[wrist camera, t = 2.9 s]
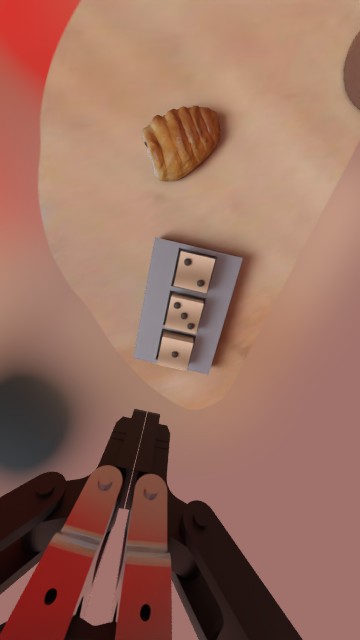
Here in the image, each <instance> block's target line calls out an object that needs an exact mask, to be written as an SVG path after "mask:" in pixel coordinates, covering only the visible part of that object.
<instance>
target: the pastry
mask: <svg viewBox="0 0 360 640" xmlns="http://www.w3.org/2000/svg"><path fill="white" fill-rule="evenodd" d="M219 137H220V126H219V122H218V115H217V113H216V112H215V111H212V110H210V109H209V108H201V107H198V106H193V107H191V108H187V107H181V108H180V109H178V110H176V109H172V110H170V111H169V112H167V114H166V115H164V116H163V117H162V116H160V115H157V116H155V117H154V118H153V120H152V122H151V123H150V124H149V126H148V127H146V128H144V129H143V130H142V138H143V141H144V143H145V145H146V146H147V147H146V148H147V152H148V154H149V156H150V158H151V160H152V162H153V169H154V173H155V175H156V177H157V178H158V179H159V180H160V181H176V180H179V179H181V178H182V177H184V176H185V175H187V174H188V173H189V172H191V171H192V170H194V169H195V168H196V167H197V166H198V165H199V164H200V163H201V162H202V161H203V160H205V158H207V157H208V156H209V155H210V154H211V153H212V152H213V150H214V148H215V147H216V145H217V142H218V140H219Z"/></svg>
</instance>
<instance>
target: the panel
mask: <svg viewBox="0 0 360 640" xmlns="http://www.w3.org/2000/svg"><path fill="white" fill-rule="evenodd" d="M181 251H183V252H187V253H191V254H195V255H200V256H204V257H208V258H213V259H215V263H214V267H213V271H212V274H211V278H210V282H209V286H208V290H207V293H202V292H198V291H194V290H189V289H185V288H180V287H176V286H174V281H175V277H176V272H177V267H178V263H179V258H180V253H181ZM242 260H243V258H241V257H237V256H233V255H229V254H224V253H220V252H216V251H212V250H207V249H203V248H199V247H194V246H190V245H186V244H182V243H177V242H173V241H169V240H165V239H160V238H156V237H155V240H154V246H153V251H152V257H151V262H150V268H149V274H148V279H147V285H146V290H145V296H144V302H143V307H142V313H141V318H140V324H139V330H138V335H137V341H136V347H135V352H134V358H135V359H139V360H144V361H149V362H153V363H157V361H158V356H159V351H160V347H161V342H162V337H163V334H164V331H168V332H172V333H177V334H181V335H186V336H190V337H193V343H194V344H193V347H192V351H191V355H190V359H189V363H188V367H187V370H190V371H195V372H199V373H204V374H209V371H210V368H211V365H212V361H213V358H214V354H215V351H216V348H217V344H218V341H219V338H220V334H221V331H222V327H223V324H224V321H225V317H226V314H227V310H228V307H229V304H230V300H231V297H232V294H233V290H234V287H235V283H236V280H237V277H238V273H239V270H240V266H241V263H242ZM172 293H173V294H178V295H182V296H187V297H191V298H195V299H200V300H203V303H204V305H203V309H202V313H201V317H200V321H199V324H198V328H197V332H196V334H192V333H188V332H183V331H179V330H174V329H170V328H165V323H166V319H167V314H168V309H169V305H170V300H171V296H172Z"/></svg>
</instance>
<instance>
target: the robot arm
mask: <svg viewBox="0 0 360 640" xmlns="http://www.w3.org/2000/svg"><path fill="white" fill-rule="evenodd" d="M344 83H345V89H346V92H347V94H348V97H349V99H350V100H351V101H352V103H353V104H354V105H355V106H356V107H357V108H359V109H360V32H359V33H358V34H357V36H356V37H355V39H354V41H353V43H352V45H351V46H350V49H349V51H348V54H347V57H346V61H345V67H344ZM146 413H147V412H146V411H142V410H138V409H134V412H133V415H132V418H127V417H122V418H121V419H120V420H119V421H118V422H117V423H116V425H115V427H114V429H113V432H112V434H111V437H110V439H109V441H108V444H107V446H106V449H105V451H104V453H103V456H102V458H101V461H100V463H99V465H98V467H97V468H96V470H94V471H93V472H92V473H91V474H90V475H89V476H87V477H85V478H82V479H77V480H70V481H66V480H65V478H64V476H63V475H61V474H60V473H58V472H47V473H43V474H41V475H39V476H37V477H35V478H34V479H32V480H30V481H28V482H27V483H25V484H23V485H21V486H20V487H18V488H16V489H14V490H12V491H11V492H9V493H7V494H5V495H4V496H2V497H1V498H0V594H1V593H2V592H4V591H5V590H6V589H7V588H9V587H10V586H11V585H12V584H13V583H14V582H16V581H17V580H18V579H19V578H20V577H21V576H23V575H24V574H25V573H26V572H27V571H29V570H30V569H31V568H32V567H33V566H35V565H36V564H37V563H38V562H39V561H40V562H39V563H38V565H37V567H36V569H35V571H34V573H33V574H32V577H31V578H30V580H29V582H28V584H27V586H26V587H25V589H24V591H23V593H22V595H21V597H20V599H19V600H18V602H17V604H16V606H15V608H14V610H13V611H12V614H11V615H10V617H9V619H8V621H7V622H5V623H3V624H1V625H0V640H172V600H171V579H172V581H173V583H174V585H175V588H176V590H177V592H178V595H179V597H180V599H181V601H182V603H183V606H184V608H185V610H186V612H187V614H188V616H189V619H190V621H191V623H192V625H193V628H194V630H195V632H196V634H197V637H198V639H199V640H302V638H301V637H300V635H299V634H298V632H297V631H296V630H295V628H294V627H293V625H292V624H291V622H290V621H289V620H288V618H287V617H286V615H285V614H284V613H283V611H282V610H281V608H280V607H279V605H278V604H277V602H276V601H275V599H274V598H273V597H272V595H271V594H270V592H269V591H268V589H267V588H266V587H265V585H264V584H263V582H262V581H261V579H260V578H259V577H258V575H257V574H256V572H255V571H254V569H253V568H252V566H251V565H250V564H249V562H248V561H247V559H246V558H245V556H244V555H243V554H242V552H241V551H240V549H239V548H238V546H237V545H236V544H235V542H234V541H233V539H232V538H231V536H230V535H229V534H228V532H227V531H226V529H225V528H224V526H223V525H222V523H221V522H220V521H219V519H218V518H217V516H216V515H215V513H214V512H213V511H212V509H211V508H210V507H209V506H208V505H207V504H206V503H204V502H202V501H192V502H189V503H188V504H186V503H184V502H183V501H181V500H179V499H178V498H176V497H175V496H174V495H173V494H172V493H171V491H170V490H169V488H168V485H167V479H166V478H167V464H168V453H169V441H170V432H169V429H168V427H167V426H166V425H161V424H159V418H160V414H157V413H152V412H148V413H147V417H146ZM145 417H146V422H145ZM144 422H145V426H144ZM143 426H144V430H143ZM142 430H143V434H142ZM141 435H142V438H141ZM140 439H141V443H140ZM139 443H140V447H139ZM138 447H139V451H138ZM137 451H138V455H137ZM136 456H137V459H136ZM135 460H136V463H135ZM134 463H135V468H134ZM133 468H134V472H133ZM132 472H133V476H132V481H131V485H130V489H129V494H128V498H127V502H126V507H125V509H128V510H129V514H128V518H127V523H126V527H125V531H124V537H123V543H122V549H121V556H120V562H119V568H118V575H117V581H116V588H115V594H114V600H113V605H112V610H111V616H110V621H109V623H106V624H102V625H98V626H92V625H91V624H89V623H87V622H86V621H85V620H83V619H84V616H85V612H86V609H87V606H88V602H89V598H90V595H91V592H92V589H93V586H94V582H95V580H96V577H97V573H98V571H99V568H100V564H101V562H102V558H103V555H104V552H105V549H106V546H107V543H108V540H109V537H110V534H111V531H112V528H113V526H114V524H115V521H116V517H117V513H118V510H119V508H123V509H124V505H125V501H126V496H127V492H128V488H129V484H130V480H131V475H132Z"/></svg>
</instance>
